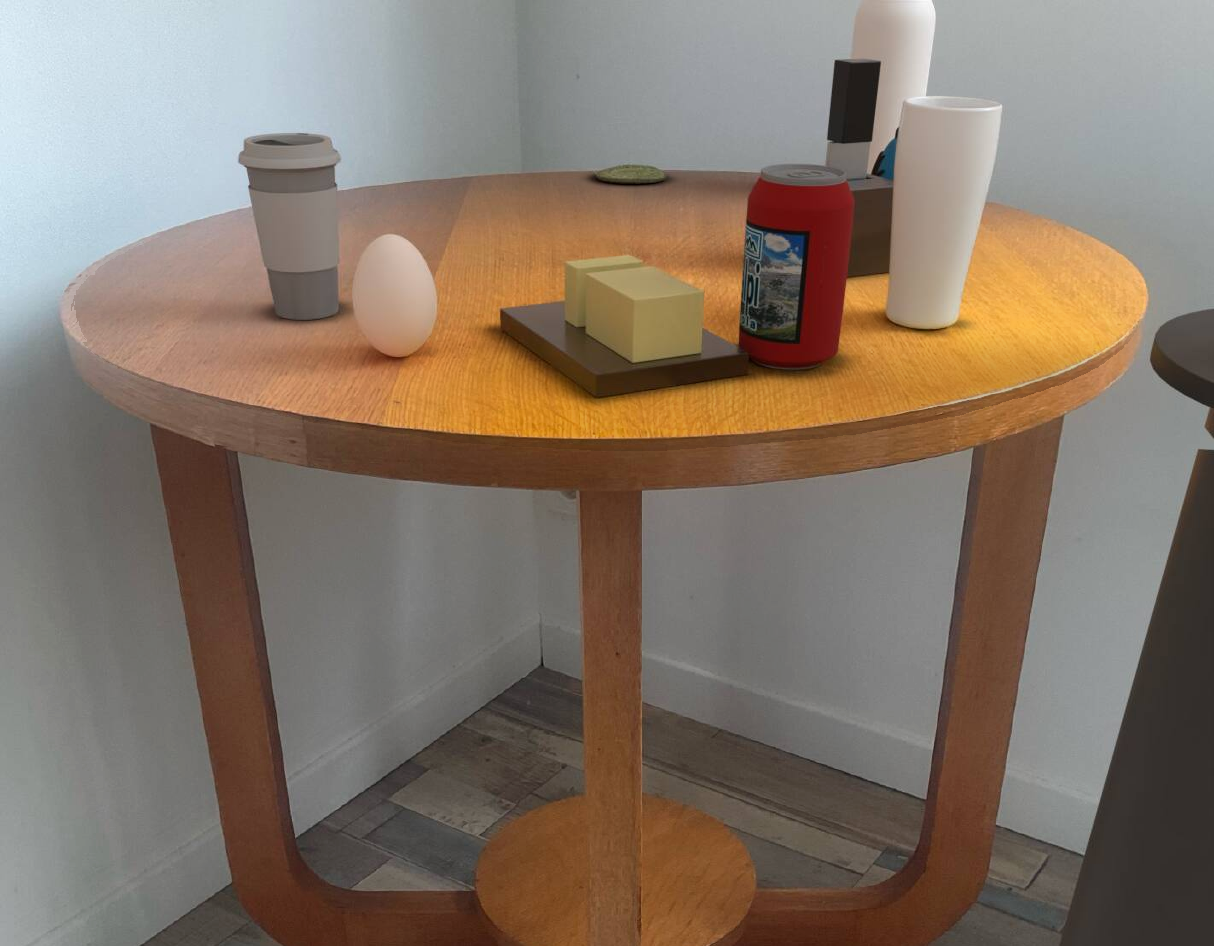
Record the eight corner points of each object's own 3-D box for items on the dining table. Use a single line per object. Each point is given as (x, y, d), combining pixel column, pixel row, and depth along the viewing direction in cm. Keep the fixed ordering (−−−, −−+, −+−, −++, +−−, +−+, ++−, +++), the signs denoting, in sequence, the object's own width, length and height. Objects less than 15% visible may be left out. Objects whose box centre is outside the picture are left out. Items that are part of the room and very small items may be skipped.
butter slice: (641, 319, 84) (643, 260, 82) (576, 327, 82) (576, 268, 80) (628, 312, 86) (629, 254, 83) (564, 320, 84) (564, 261, 82)
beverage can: (720, 349, 83) (730, 165, 77) (805, 339, 85) (822, 159, 79) (766, 379, 78) (782, 184, 72) (856, 368, 80) (879, 177, 74)
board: (748, 374, 79) (749, 352, 78) (596, 398, 74) (596, 374, 74) (636, 311, 91) (636, 291, 90) (500, 328, 87) (499, 308, 86)
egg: (391, 374, 78) (380, 248, 74) (341, 355, 81) (328, 233, 77) (456, 356, 81) (450, 235, 77) (406, 338, 85) (397, 221, 81)
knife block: (897, 271, 102) (909, 184, 99) (829, 279, 100) (838, 191, 96) (842, 250, 109) (851, 168, 105) (776, 258, 106) (783, 174, 102)
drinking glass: (864, 326, 88) (891, 104, 81) (887, 304, 94) (914, 93, 86) (957, 339, 86) (994, 111, 78) (975, 315, 91) (1012, 99, 83)
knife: (862, 265, 104) (886, 60, 96) (824, 269, 103) (845, 62, 94) (847, 259, 106) (870, 58, 98) (809, 264, 104) (829, 59, 96)
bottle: (867, 205, 126) (907, -135, 111) (821, 191, 132) (853, -133, 117) (927, 198, 130) (974, -133, 114) (880, 185, 136) (918, -131, 120)
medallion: (676, 174, 139) (676, 168, 139) (648, 186, 133) (649, 179, 133) (613, 168, 142) (613, 162, 142) (583, 179, 136) (583, 172, 136)
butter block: (701, 353, 78) (705, 290, 75) (632, 363, 76) (634, 299, 74) (651, 324, 83) (652, 265, 81) (585, 333, 81) (585, 273, 79)
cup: (368, 302, 92) (353, 134, 86) (335, 327, 87) (316, 149, 81) (281, 296, 93) (260, 130, 87) (242, 320, 88) (217, 144, 82)
